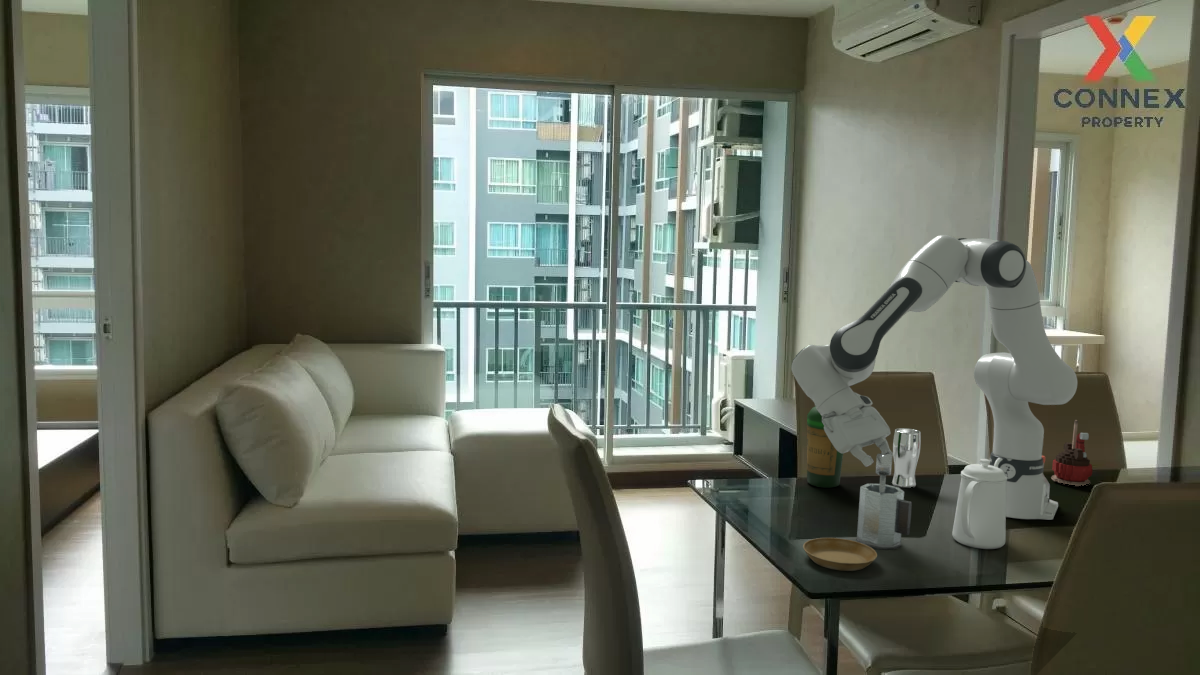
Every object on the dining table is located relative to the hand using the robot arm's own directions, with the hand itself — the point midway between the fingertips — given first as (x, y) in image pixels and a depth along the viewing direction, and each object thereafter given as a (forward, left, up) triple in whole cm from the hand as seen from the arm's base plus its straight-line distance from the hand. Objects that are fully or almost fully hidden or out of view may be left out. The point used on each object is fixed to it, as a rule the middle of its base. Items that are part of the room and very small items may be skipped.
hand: (880, 461), depth 194 cm
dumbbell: (0, +1, -15) cm, 16 cm away
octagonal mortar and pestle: (0, +1, -18) cm, 18 cm away
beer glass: (-50, -16, -18) cm, 56 cm away
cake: (-89, +15, -18) cm, 92 cm away
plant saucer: (+17, 0, -19) cm, 25 cm away
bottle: (-33, -31, -18) cm, 49 cm away
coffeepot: (-18, +16, -18) cm, 30 cm away
